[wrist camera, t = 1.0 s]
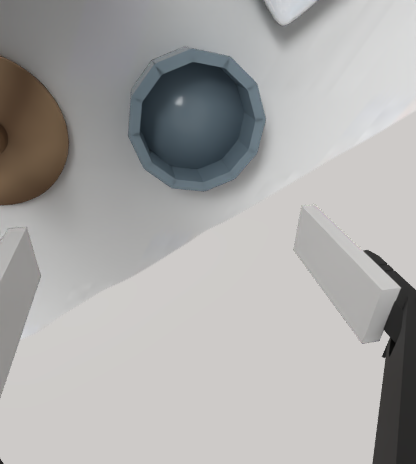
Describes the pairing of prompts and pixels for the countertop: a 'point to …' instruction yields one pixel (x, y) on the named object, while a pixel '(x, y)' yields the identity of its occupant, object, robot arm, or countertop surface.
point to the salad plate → (288, 9)
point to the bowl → (195, 119)
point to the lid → (28, 136)
